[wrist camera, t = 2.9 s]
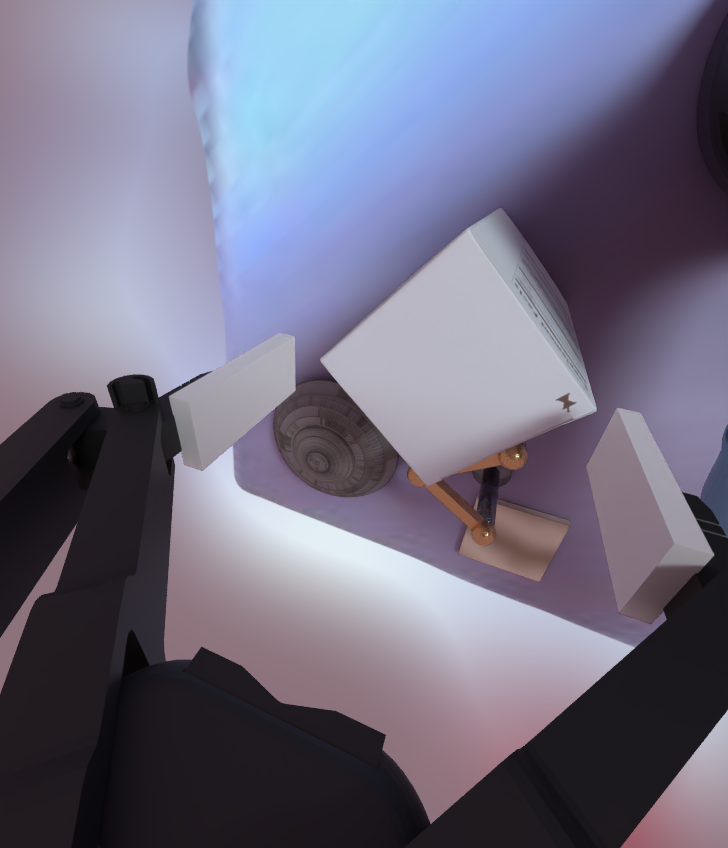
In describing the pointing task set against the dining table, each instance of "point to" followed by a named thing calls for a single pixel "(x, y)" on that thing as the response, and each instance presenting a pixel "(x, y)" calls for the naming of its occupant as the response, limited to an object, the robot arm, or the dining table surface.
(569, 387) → the supplement box
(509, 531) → the coaster
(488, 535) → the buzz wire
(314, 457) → the flying saucer
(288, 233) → the dining table surface
